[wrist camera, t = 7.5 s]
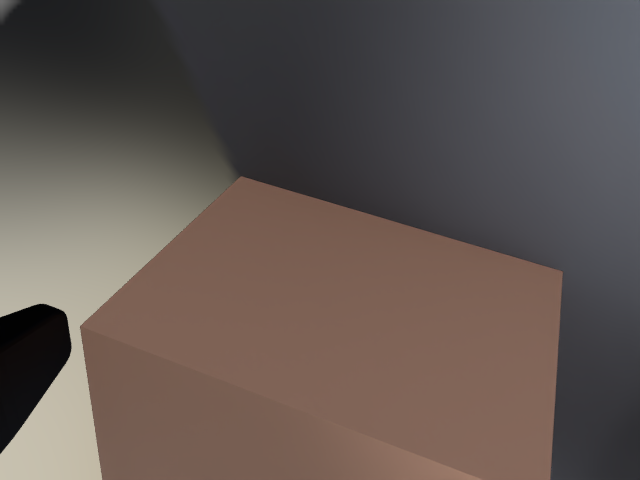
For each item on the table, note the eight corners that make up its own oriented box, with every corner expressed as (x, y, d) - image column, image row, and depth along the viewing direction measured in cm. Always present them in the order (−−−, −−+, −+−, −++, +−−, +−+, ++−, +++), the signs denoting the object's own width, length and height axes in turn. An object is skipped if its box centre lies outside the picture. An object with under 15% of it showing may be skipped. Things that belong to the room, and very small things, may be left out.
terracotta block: (472, 475, 12) (428, 712, 8) (233, 384, 13) (115, 563, 9) (563, 266, 9) (549, 504, 5) (245, 172, 10) (79, 325, 7)
